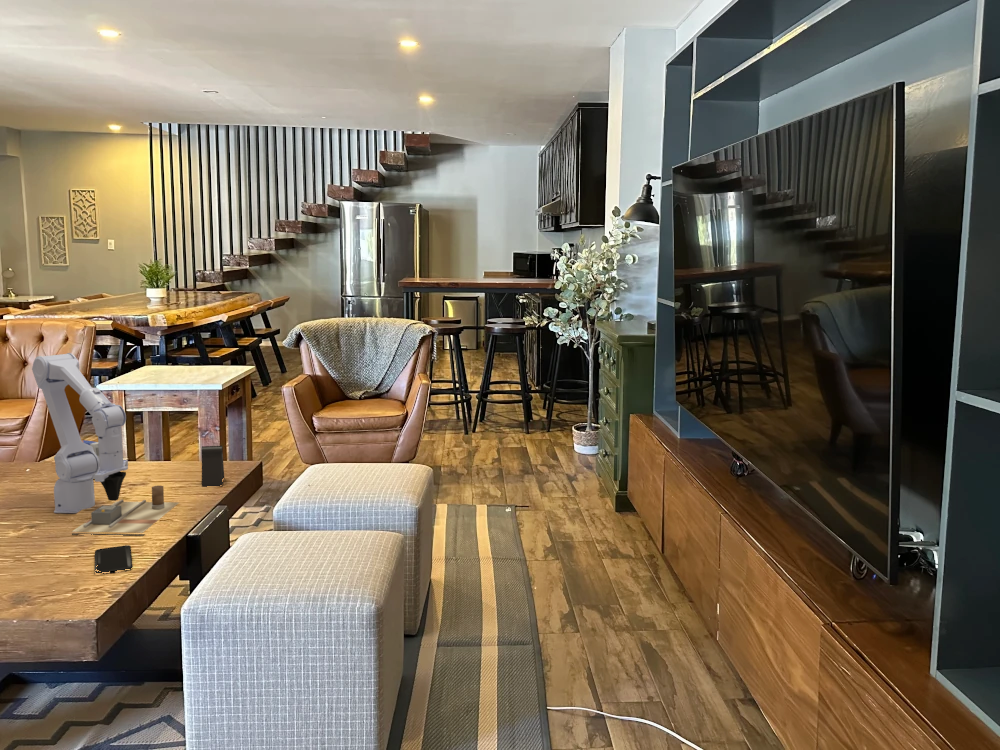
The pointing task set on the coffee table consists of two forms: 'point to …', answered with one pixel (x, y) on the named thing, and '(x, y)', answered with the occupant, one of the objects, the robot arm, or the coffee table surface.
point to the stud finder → (106, 514)
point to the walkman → (95, 447)
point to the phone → (113, 559)
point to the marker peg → (157, 497)
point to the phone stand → (212, 466)
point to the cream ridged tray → (129, 519)
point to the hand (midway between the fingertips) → (113, 499)
